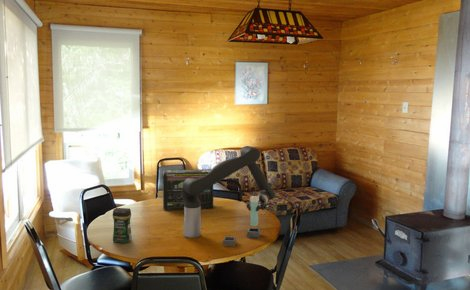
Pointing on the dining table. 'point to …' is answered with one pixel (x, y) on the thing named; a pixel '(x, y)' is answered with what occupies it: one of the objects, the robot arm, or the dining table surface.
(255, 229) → the tray
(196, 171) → the router box
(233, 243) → the holster
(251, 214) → the plug
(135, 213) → the dining table surface
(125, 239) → the coffee jar
